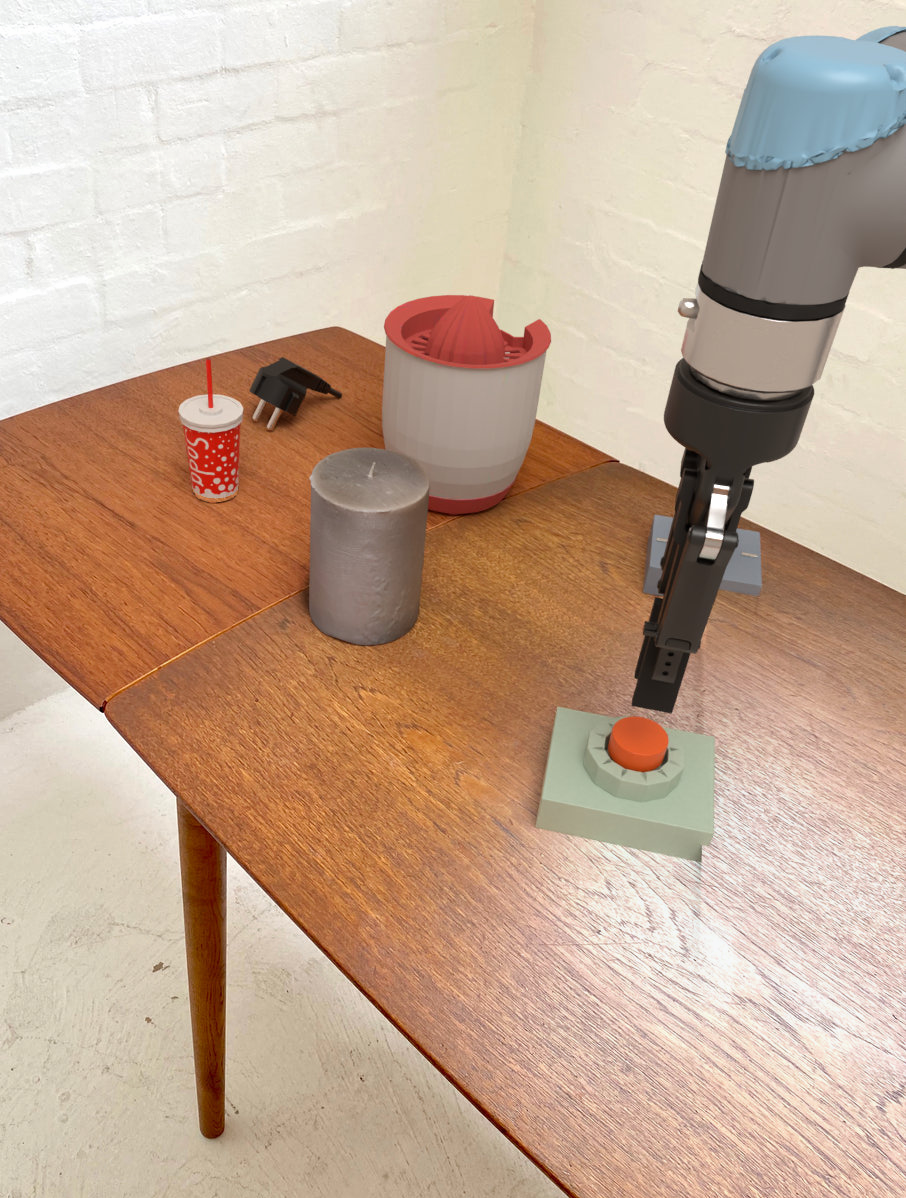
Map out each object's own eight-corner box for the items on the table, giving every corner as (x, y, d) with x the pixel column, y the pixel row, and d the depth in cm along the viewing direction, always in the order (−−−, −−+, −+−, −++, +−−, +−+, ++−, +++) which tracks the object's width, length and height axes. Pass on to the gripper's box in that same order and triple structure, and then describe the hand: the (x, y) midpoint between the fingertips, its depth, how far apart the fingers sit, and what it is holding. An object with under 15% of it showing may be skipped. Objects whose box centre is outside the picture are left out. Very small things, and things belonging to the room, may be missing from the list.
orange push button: (664, 739, 81) (669, 722, 80) (662, 777, 78) (667, 760, 77) (609, 728, 82) (614, 711, 80) (605, 766, 79) (610, 748, 78)
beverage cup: (174, 484, 112) (163, 352, 102) (228, 469, 115) (222, 339, 105) (201, 513, 108) (192, 379, 99) (257, 497, 111) (253, 365, 101)
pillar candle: (395, 572, 103) (406, 425, 93) (434, 636, 96) (451, 485, 86) (294, 589, 100) (294, 440, 90) (327, 656, 93) (331, 503, 83)
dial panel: (751, 557, 108) (760, 529, 105) (752, 613, 101) (762, 584, 99) (647, 539, 109) (654, 512, 107) (642, 593, 102) (649, 565, 100)
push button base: (704, 766, 86) (721, 719, 82) (702, 863, 78) (720, 816, 75) (550, 735, 87) (561, 688, 84) (534, 828, 80) (545, 780, 77)
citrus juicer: (567, 484, 116) (602, 296, 102) (457, 547, 106) (480, 348, 93) (455, 428, 123) (474, 246, 110) (343, 482, 114) (350, 289, 100)
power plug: (359, 398, 126) (292, 363, 116) (328, 458, 127) (260, 428, 118) (327, 379, 129) (259, 344, 119) (297, 438, 130) (228, 408, 121)
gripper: (681, 305, 66) (607, 616, 82) (672, 424, 55) (588, 757, 71) (810, 323, 65) (709, 635, 81) (827, 448, 54) (706, 781, 70)
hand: (653, 691), depth 76 cm, fingers open, 2 cm apart
